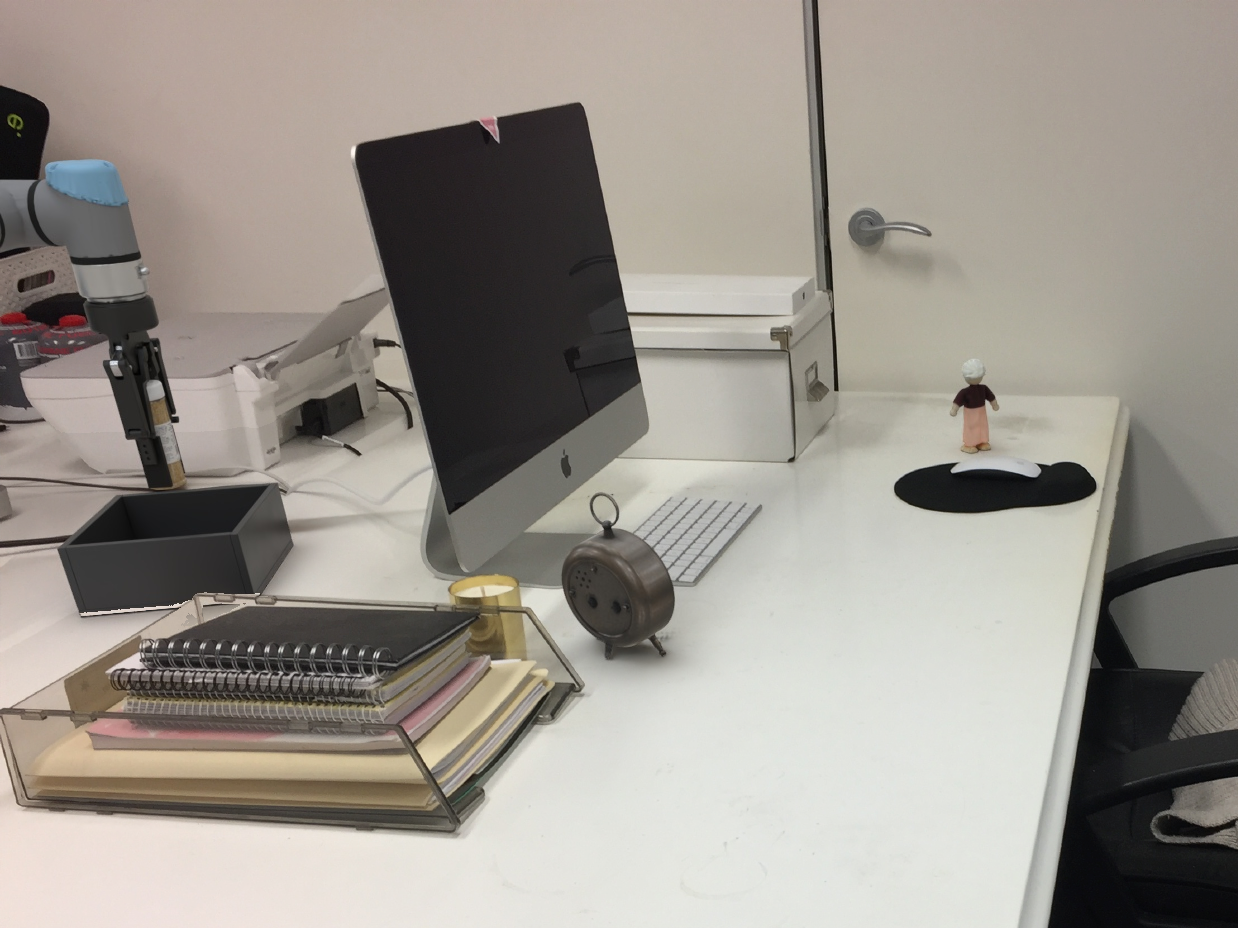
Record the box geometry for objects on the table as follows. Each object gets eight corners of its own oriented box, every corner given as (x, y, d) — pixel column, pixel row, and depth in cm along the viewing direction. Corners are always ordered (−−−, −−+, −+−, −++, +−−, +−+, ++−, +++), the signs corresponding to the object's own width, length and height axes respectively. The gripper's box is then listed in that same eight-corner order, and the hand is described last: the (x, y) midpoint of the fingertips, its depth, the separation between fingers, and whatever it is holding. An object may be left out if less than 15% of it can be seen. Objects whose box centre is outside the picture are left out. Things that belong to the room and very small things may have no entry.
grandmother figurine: (984, 441, 188) (984, 352, 182) (1002, 446, 185) (1003, 356, 179) (943, 452, 183) (942, 361, 178) (961, 458, 181) (961, 366, 175)
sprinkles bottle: (154, 481, 172) (125, 379, 166) (191, 478, 173) (165, 377, 167) (144, 492, 168) (115, 388, 162) (183, 489, 169) (155, 385, 163)
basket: (80, 617, 139) (56, 548, 135) (136, 558, 154) (116, 494, 150) (256, 601, 141) (237, 533, 138) (293, 544, 157) (277, 482, 153)
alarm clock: (684, 652, 127) (666, 492, 120) (647, 674, 123) (626, 510, 116) (600, 630, 132) (577, 475, 125) (562, 650, 128) (536, 492, 121)
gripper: (125, 309, 152) (177, 500, 163) (172, 282, 168) (217, 458, 178) (55, 311, 151) (112, 504, 162) (109, 284, 167) (158, 462, 177)
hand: (167, 480), depth 170 cm, fingers closed on sprinkles bottle, 4 cm apart
